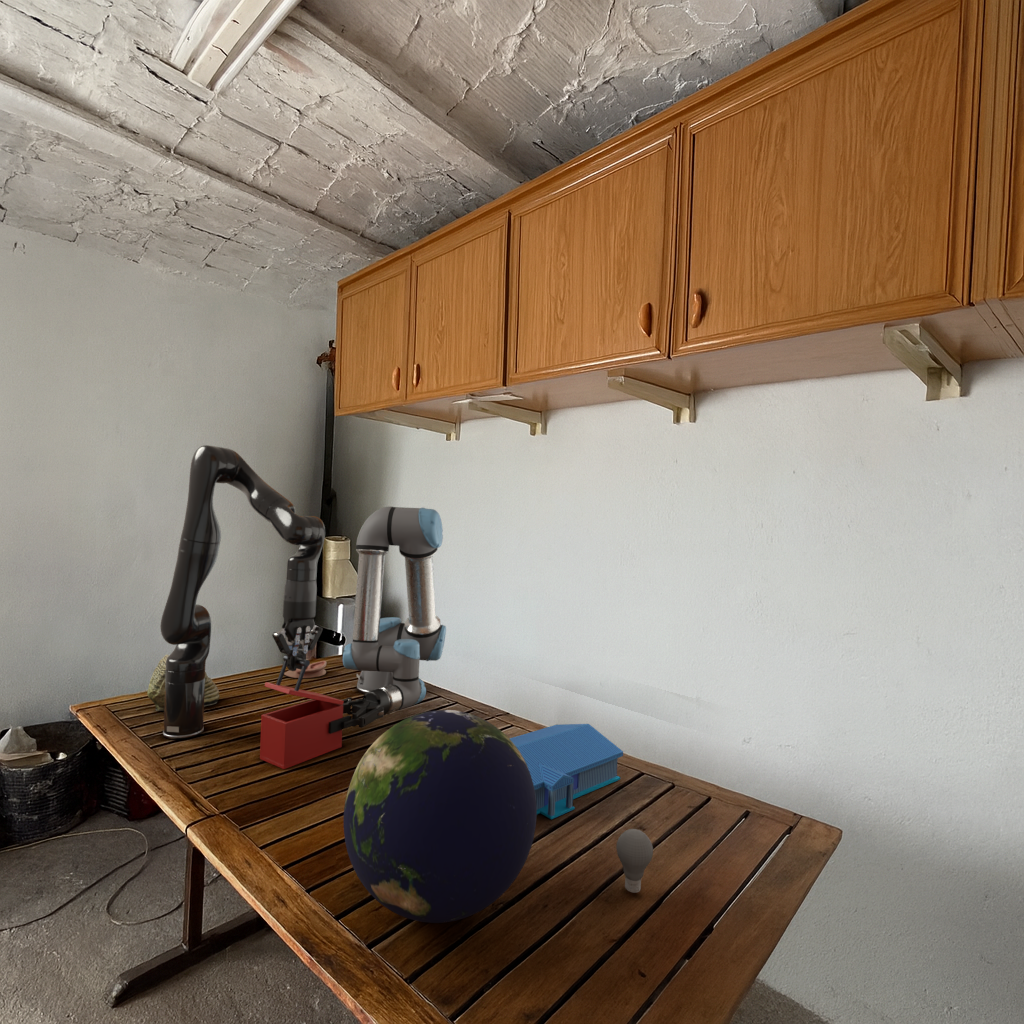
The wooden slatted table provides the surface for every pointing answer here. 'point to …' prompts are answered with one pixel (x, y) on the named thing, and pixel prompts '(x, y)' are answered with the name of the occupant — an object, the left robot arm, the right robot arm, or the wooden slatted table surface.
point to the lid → (296, 690)
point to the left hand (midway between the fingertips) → (296, 669)
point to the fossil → (158, 687)
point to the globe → (440, 816)
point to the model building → (567, 764)
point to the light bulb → (634, 857)
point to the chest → (299, 733)
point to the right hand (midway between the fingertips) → (316, 723)
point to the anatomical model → (309, 670)
